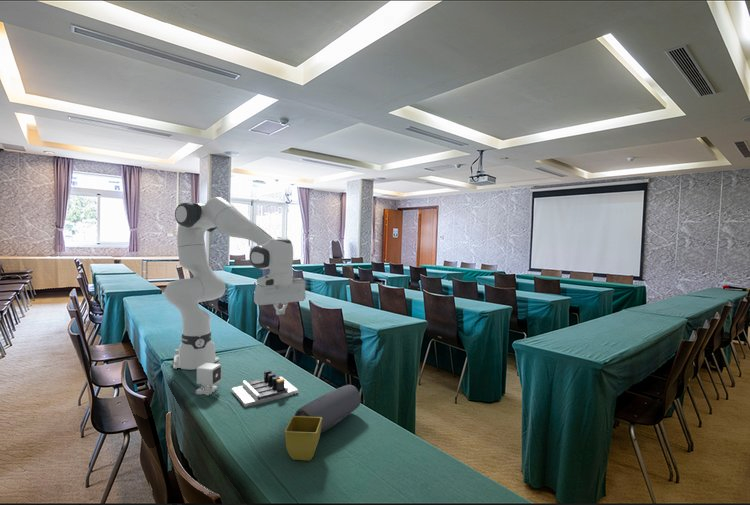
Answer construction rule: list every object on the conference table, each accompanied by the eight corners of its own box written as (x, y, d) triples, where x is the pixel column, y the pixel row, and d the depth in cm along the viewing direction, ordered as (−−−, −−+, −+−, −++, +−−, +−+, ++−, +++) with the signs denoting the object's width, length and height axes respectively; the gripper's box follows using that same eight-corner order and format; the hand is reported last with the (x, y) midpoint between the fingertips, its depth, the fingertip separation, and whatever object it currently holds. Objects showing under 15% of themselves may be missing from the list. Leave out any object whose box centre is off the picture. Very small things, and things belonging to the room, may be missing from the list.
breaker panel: (231, 391, 143) (231, 377, 143) (281, 380, 155) (281, 366, 155) (245, 407, 131) (245, 391, 131) (298, 393, 144) (298, 378, 143)
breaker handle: (276, 389, 141) (276, 379, 140) (282, 387, 142) (282, 378, 142) (278, 390, 139) (278, 381, 139) (284, 389, 141) (284, 379, 140)
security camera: (211, 396, 139) (211, 369, 138) (194, 394, 140) (194, 367, 140) (221, 389, 145) (221, 363, 145) (205, 387, 147) (205, 361, 146)
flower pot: (291, 445, 110) (292, 415, 109) (321, 446, 110) (322, 416, 109) (283, 464, 101) (284, 431, 100) (316, 465, 101) (316, 433, 100)
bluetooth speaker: (340, 407, 134) (341, 379, 133) (361, 415, 128) (362, 386, 128) (291, 435, 115) (292, 403, 115) (314, 446, 110) (314, 412, 109)
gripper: (301, 276, 157) (300, 309, 158) (252, 279, 145) (252, 315, 146) (308, 278, 152) (307, 312, 153) (258, 281, 140) (258, 318, 141)
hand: (280, 314), depth 149 cm, fingers closed
